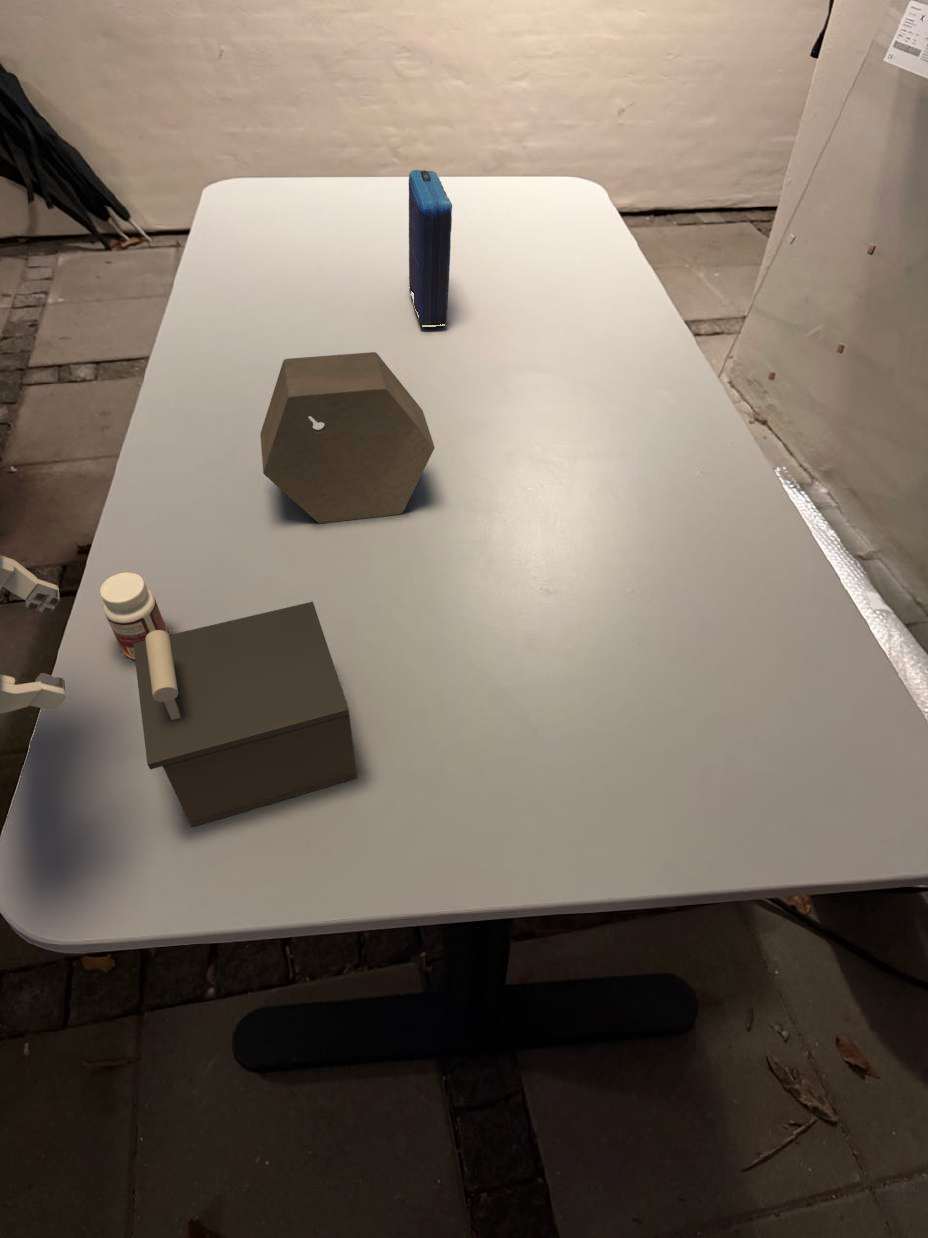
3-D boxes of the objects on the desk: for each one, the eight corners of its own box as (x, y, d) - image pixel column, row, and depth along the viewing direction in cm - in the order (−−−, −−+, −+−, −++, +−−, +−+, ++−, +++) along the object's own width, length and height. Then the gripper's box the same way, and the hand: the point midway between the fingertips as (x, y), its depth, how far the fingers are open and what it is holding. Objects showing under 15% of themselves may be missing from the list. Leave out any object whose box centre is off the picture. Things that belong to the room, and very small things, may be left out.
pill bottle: (146, 620, 82) (123, 562, 75) (179, 638, 80) (159, 581, 74) (111, 649, 79) (84, 591, 73) (145, 669, 77) (120, 612, 71)
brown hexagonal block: (446, 439, 97) (345, 313, 83) (459, 476, 92) (354, 349, 78) (339, 509, 102) (225, 401, 87) (346, 548, 97) (227, 441, 82)
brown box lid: (150, 770, 59) (131, 732, 55) (135, 649, 66) (118, 608, 63) (349, 715, 63) (344, 676, 59) (313, 607, 70) (307, 566, 67)
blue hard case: (405, 293, 134) (403, 165, 119) (436, 291, 135) (437, 164, 120) (418, 334, 125) (417, 201, 110) (451, 332, 125) (454, 199, 111)
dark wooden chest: (191, 827, 66) (162, 767, 59) (174, 712, 74) (146, 646, 67) (357, 778, 70) (349, 715, 63) (324, 674, 78) (313, 607, 70)
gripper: (-181, 678, 38) (91, 732, 48) (-135, 447, 51) (73, 528, 61) (-230, 754, 41) (40, 791, 50) (-174, 514, 53) (33, 581, 63)
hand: (58, 645), depth 56 cm, fingers open, 8 cm apart
